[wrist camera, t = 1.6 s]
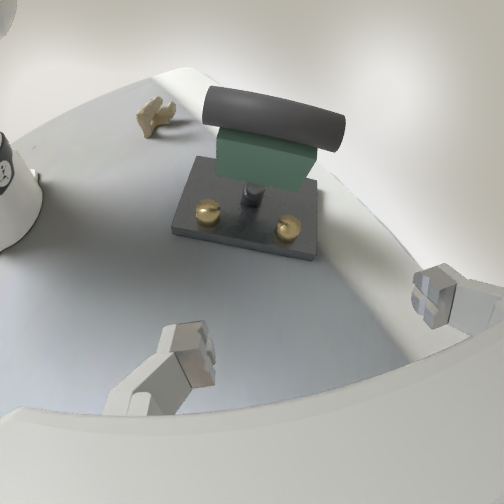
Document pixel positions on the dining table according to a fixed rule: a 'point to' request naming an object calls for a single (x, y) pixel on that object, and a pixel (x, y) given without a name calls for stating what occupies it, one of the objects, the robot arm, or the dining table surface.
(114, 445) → the robot arm
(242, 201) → the plate
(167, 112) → the bone
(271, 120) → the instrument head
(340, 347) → the dining table surface
